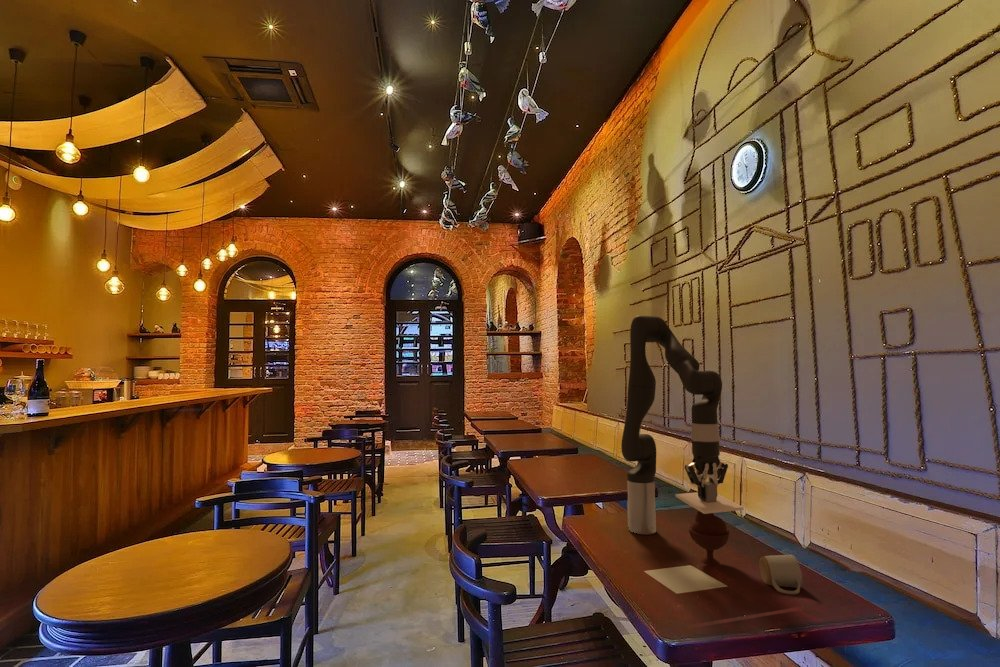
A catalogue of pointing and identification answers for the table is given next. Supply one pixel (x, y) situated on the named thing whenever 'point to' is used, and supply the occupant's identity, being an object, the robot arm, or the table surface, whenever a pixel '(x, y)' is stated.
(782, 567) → the ceramic mug
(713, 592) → the table surface
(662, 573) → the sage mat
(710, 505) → the cover board
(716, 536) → the ice cream bowl
